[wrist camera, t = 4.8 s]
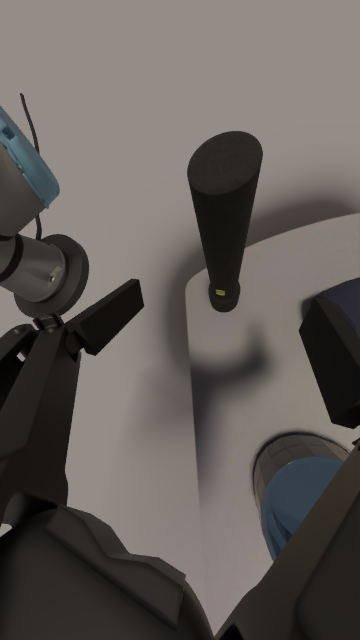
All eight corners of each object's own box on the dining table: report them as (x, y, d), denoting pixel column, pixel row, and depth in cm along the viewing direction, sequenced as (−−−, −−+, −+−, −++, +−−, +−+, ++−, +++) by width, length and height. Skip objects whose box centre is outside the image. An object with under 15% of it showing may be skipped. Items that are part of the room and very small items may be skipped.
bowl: (237, 443, 26) (241, 469, 21) (341, 421, 24) (378, 445, 18) (279, 564, 23) (298, 637, 17) (409, 556, 20) (484, 640, 14)
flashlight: (214, 284, 32) (207, 309, 31) (189, 121, 9) (162, 202, 9) (241, 289, 30) (234, 315, 30) (291, 109, 8) (265, 205, 7)
